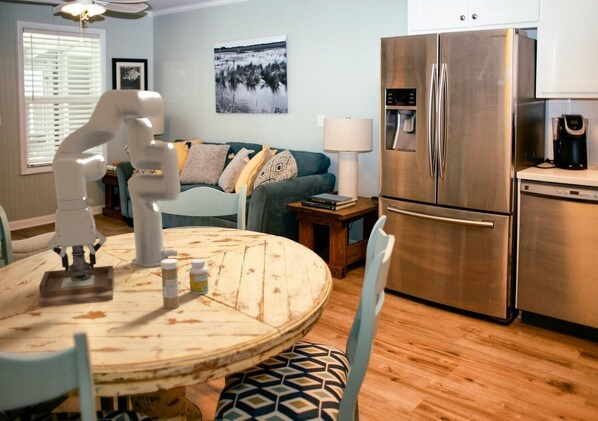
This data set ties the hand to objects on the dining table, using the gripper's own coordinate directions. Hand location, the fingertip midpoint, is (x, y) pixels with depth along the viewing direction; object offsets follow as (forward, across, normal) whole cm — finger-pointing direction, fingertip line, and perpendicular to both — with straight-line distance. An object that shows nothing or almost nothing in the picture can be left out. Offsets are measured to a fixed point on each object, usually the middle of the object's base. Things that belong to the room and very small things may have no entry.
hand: (79, 267), depth 162 cm
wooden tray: (+13, +3, -15) cm, 20 cm away
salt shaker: (+3, 0, 0) cm, 3 cm away
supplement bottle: (+13, -32, -5) cm, 35 cm away
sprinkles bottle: (+13, -24, +5) cm, 27 cm away
